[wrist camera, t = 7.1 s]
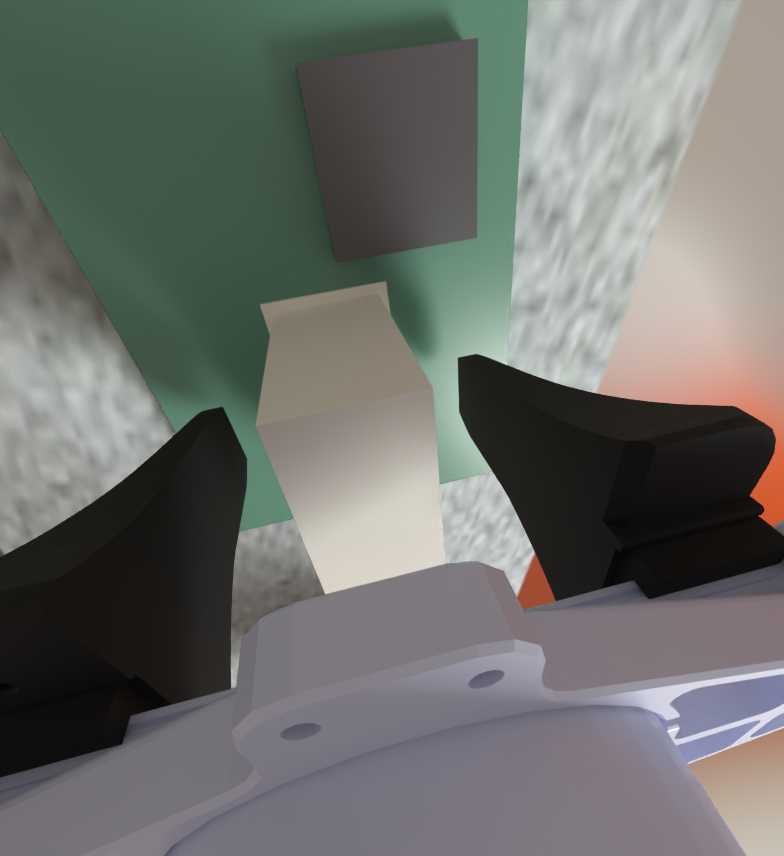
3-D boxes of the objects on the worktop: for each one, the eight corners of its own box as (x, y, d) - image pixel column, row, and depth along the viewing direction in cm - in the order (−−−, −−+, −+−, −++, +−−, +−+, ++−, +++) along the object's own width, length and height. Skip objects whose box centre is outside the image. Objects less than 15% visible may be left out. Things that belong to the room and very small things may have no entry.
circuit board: (488, 449, 19) (512, 488, 16) (237, 507, 18) (229, 556, 15) (502, -64, 9) (565, -133, 7) (-35, -3, 8) (-155, -60, 6)
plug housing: (402, 464, 16) (447, 597, 11) (326, 481, 16) (338, 625, 11) (378, 293, 12) (432, 387, 7) (273, 313, 12) (255, 425, 7)
